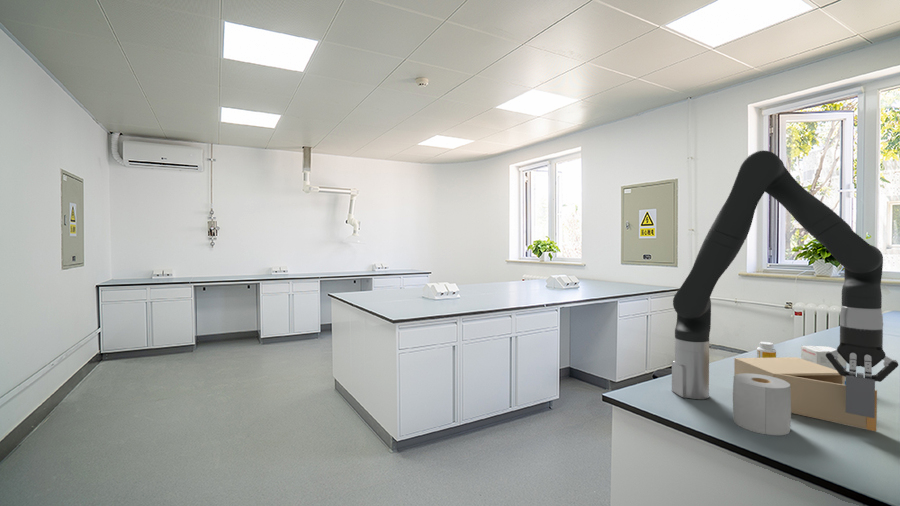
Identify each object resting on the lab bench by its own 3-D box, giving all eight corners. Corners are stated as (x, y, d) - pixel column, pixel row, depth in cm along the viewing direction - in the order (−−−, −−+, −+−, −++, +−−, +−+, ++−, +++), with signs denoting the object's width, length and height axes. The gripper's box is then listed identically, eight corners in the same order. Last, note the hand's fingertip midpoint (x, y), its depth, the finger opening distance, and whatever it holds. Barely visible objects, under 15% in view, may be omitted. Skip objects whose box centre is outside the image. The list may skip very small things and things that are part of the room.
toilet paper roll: (745, 412, 116) (745, 370, 115) (799, 428, 105) (799, 382, 105) (723, 422, 109) (724, 378, 109) (779, 440, 99) (779, 392, 99)
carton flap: (771, 415, 113) (771, 364, 112) (774, 408, 117) (774, 359, 117) (877, 439, 99) (878, 381, 98) (876, 430, 103) (877, 374, 103)
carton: (773, 409, 117) (773, 373, 117) (734, 389, 133) (734, 358, 133) (844, 408, 117) (844, 372, 117) (796, 388, 133) (797, 357, 133)
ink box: (847, 389, 132) (848, 352, 132) (816, 387, 134) (817, 351, 134) (828, 380, 141) (829, 345, 141) (800, 379, 143) (800, 344, 142)
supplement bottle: (780, 372, 149) (780, 344, 149) (767, 374, 148) (767, 345, 148) (765, 368, 155) (765, 340, 155) (752, 369, 154) (753, 341, 153)
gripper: (822, 324, 105) (822, 392, 105) (902, 331, 95) (901, 407, 96) (824, 319, 110) (824, 385, 110) (900, 326, 100) (899, 398, 101)
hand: (860, 395), depth 103 cm, fingers closed
